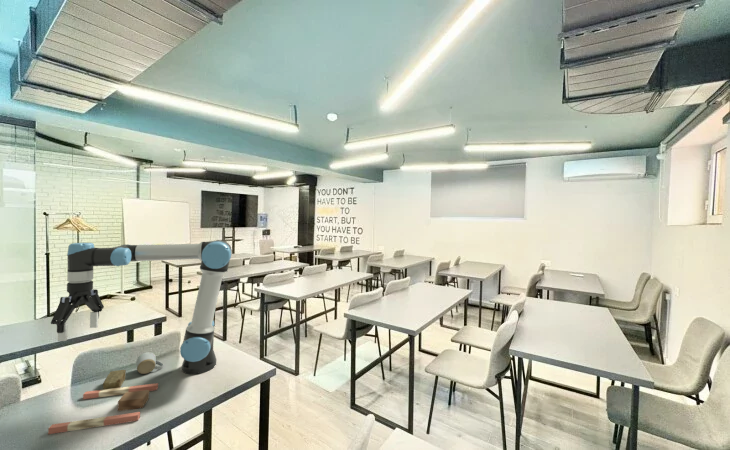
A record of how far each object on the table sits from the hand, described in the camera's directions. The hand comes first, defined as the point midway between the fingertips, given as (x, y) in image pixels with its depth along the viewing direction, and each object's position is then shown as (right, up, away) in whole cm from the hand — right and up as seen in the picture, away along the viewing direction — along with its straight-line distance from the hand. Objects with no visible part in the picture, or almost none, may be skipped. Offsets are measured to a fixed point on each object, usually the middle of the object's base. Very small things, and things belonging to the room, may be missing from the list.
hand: (79, 333), depth 117 cm
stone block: (+7, -27, +9) cm, 29 cm away
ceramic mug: (+11, -27, +23) cm, 37 cm away
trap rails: (+17, -27, -5) cm, 32 cm away
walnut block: (+24, -27, -3) cm, 37 cm away
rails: (+15, -27, -6) cm, 31 cm away
